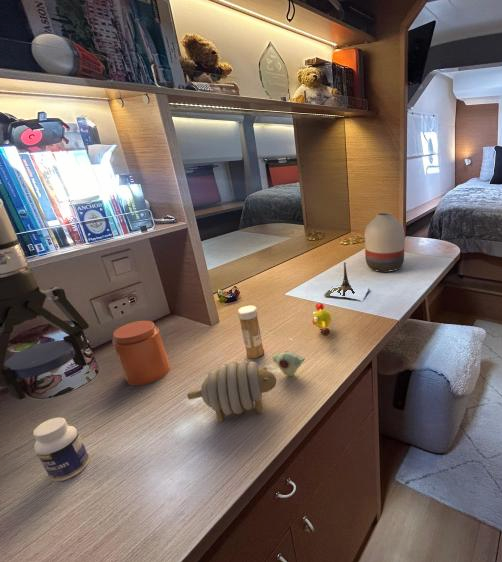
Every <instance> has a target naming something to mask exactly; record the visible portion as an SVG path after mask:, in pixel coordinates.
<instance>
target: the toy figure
mask: <svg viewBox="0 0 502 562" xmlns="http://www.w3.org/2000/svg"><path fill="white" fill-rule="evenodd" d="M324 307H325V306H324V304H323V303H321V302H319V303H317V304H316V305H315V309H316V311H313V312H312V316H313V317H312V321H311V322H312V323H311V324H312V325H313V326H316V327H317V328H319V331H320V330H321V331H320V334H321V336H323V337H329V336H330V335H331V330H330V328H329V327H328V326H329V325H330V324H331V322H332V316H331V313H330V312H329V311H327V310H325V309H324Z"/></svg>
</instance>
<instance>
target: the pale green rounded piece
mask: <svg viewBox="0 0 502 562" xmlns="http://www.w3.org/2000/svg"><path fill="white" fill-rule="evenodd" d="M272 358H273V359H272V361H273V362H274V363H275V364H276V365H277V366H278V368H279V370H280V372H282V373H283V374H284V375H285V376H294V375H295V374H296V372H297V370H298V369H299V368H300V367H301V366H302V364H303V363H304V362H305V360H306V357H304V356H300V355H298V354H296V353H294V352H291V351H283V352H280V353H276V354H275V353H274V354H273V356H272Z"/></svg>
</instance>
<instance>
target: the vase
mask: <svg viewBox="0 0 502 562" xmlns="http://www.w3.org/2000/svg"><path fill="white" fill-rule="evenodd" d="M405 236H406V235H405V227H404V226H403V224H402V223H401V222H400V221H399V220H398V219H396V218H395V217H394V216H393V213H391V212H377V213H376V216H375V217H374V218H373V219H372V220H371V221H369V223H367V225H366V227H365V230H364V253H365V254H364V255H365V256H364V257H365V262H366V263H365V264H366V265H367V266H368V268H369V269H370V268H371V269H370V270H372V269H373V270H372V271H374V270H378V271H389V270H395V269H397V270H399V269H401V268H402V267H403V265H404V261H405V243H406V242H405V239H406V238H405ZM398 268H399V269H398ZM378 271H377V272H378ZM395 271H396V270H395Z"/></svg>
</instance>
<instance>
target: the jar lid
mask: <svg viewBox="0 0 502 562" xmlns="http://www.w3.org/2000/svg"><path fill="white" fill-rule="evenodd" d="M75 354H76V351H75V349H74V347H73V345H72V343H71V342H70V341H65V340H64V339H63V340H62V339H61V340H52V341H47V342H42V343H39V344H35V345H33V346H30V347H27V348H25V349H22V350H21V351H19V352H16V353H15V354H13V355H12V356H10V357H9V358H8V359H7V360H6V361H4V366H7V367H9V368H10V369H11V370H12V372H13V374H14V376H15V378H16V379H27V378H28V379H29V378H33V377H38V376H41V375H44V374H47V373H50V372H52V371H54V370H57V369H58V368H61V367H63V366H65V365H66V364H67V363H69V362H70V361H71V360H73V359H72V358H73V357H74V356H75Z"/></svg>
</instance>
